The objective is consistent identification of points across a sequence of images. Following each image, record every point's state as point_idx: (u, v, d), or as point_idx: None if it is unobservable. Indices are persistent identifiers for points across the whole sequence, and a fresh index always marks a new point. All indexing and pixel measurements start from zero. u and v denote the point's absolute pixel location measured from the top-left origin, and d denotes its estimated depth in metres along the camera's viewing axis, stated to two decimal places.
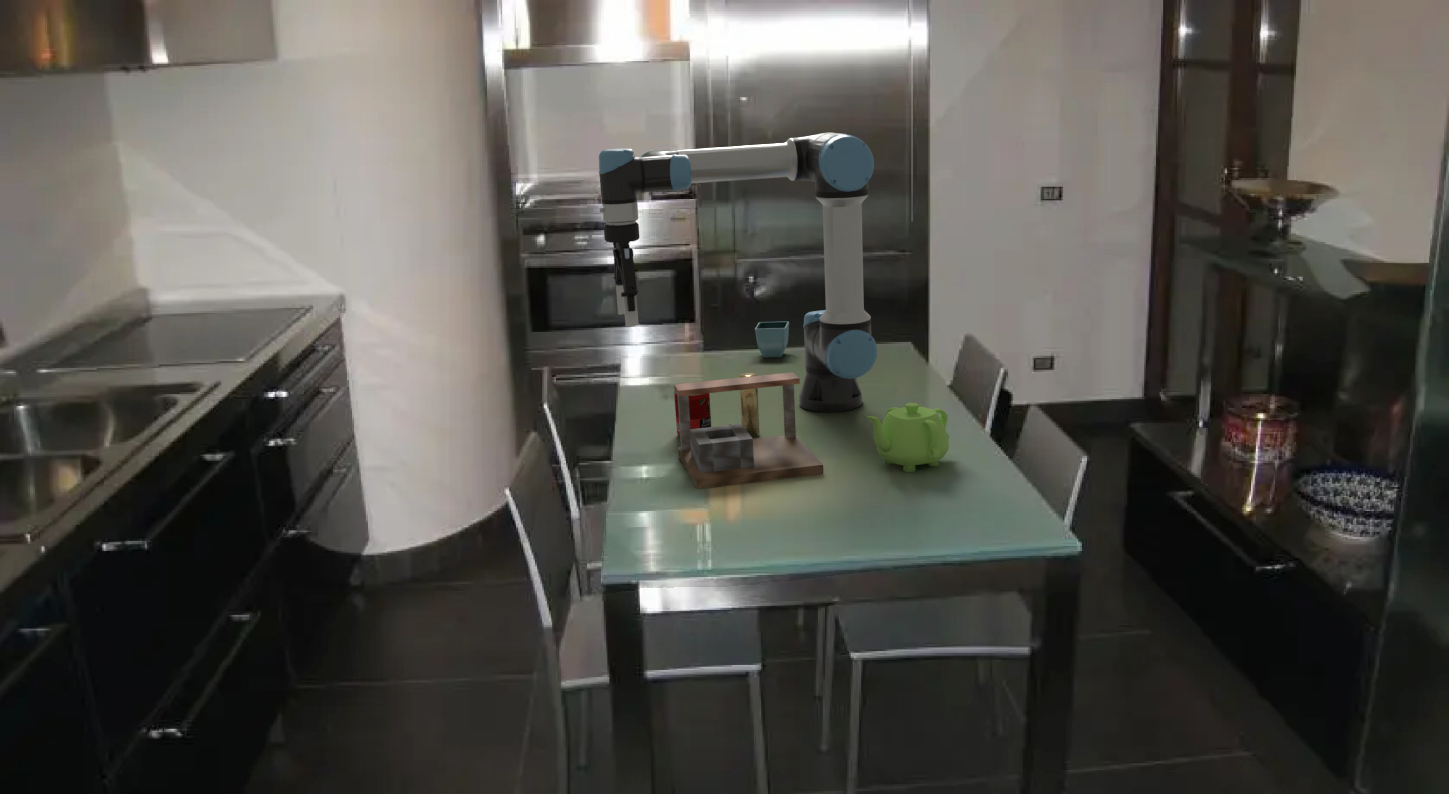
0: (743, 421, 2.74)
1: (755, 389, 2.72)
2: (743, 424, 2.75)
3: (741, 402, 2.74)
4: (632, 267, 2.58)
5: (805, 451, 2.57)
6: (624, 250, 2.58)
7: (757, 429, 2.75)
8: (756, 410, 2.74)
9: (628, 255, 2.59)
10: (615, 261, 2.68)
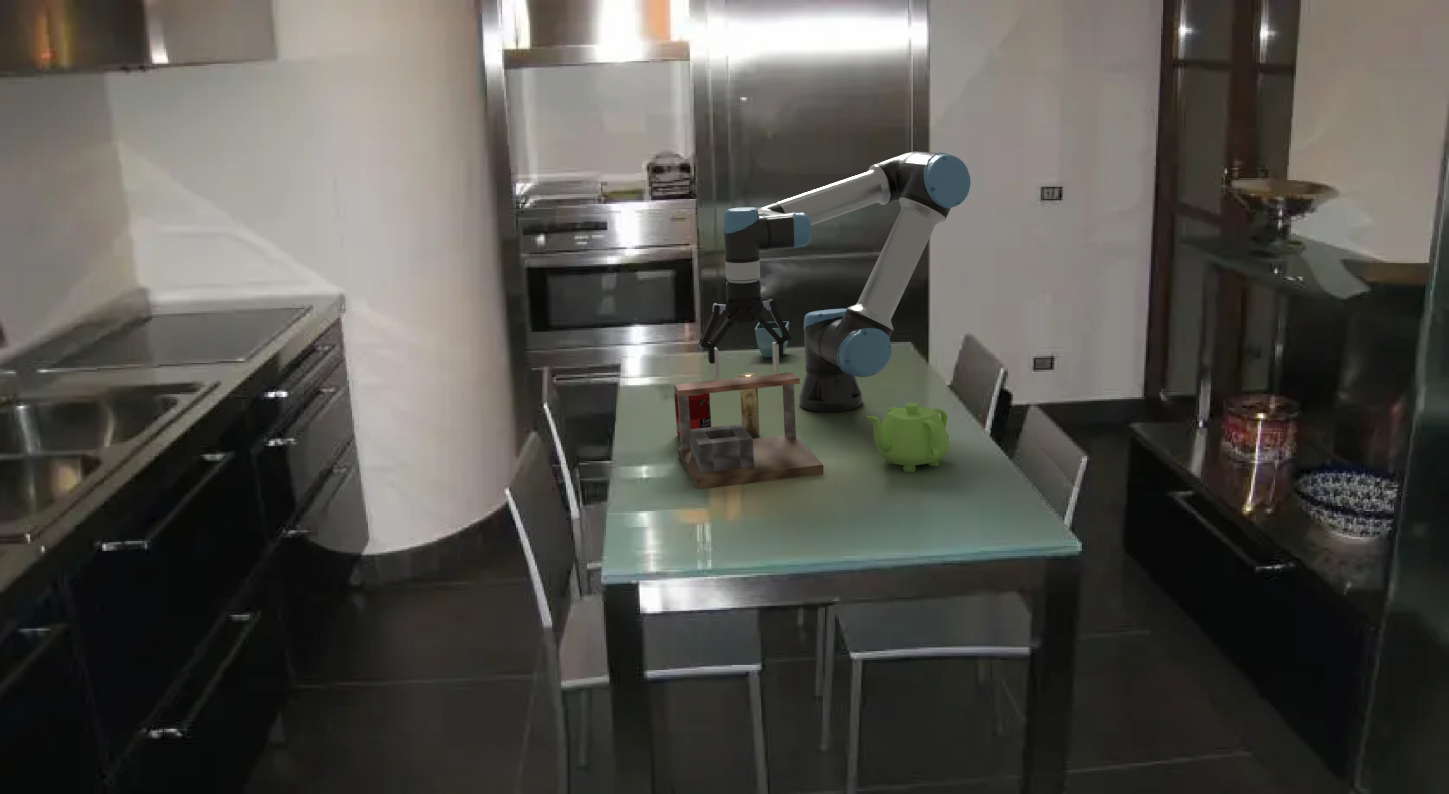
0: (743, 421, 2.74)
1: (755, 389, 2.72)
2: (743, 424, 2.75)
3: (741, 402, 2.74)
4: (710, 322, 2.67)
5: (805, 451, 2.57)
6: (713, 304, 2.68)
7: (757, 429, 2.75)
8: (756, 410, 2.74)
9: (713, 310, 2.67)
10: None
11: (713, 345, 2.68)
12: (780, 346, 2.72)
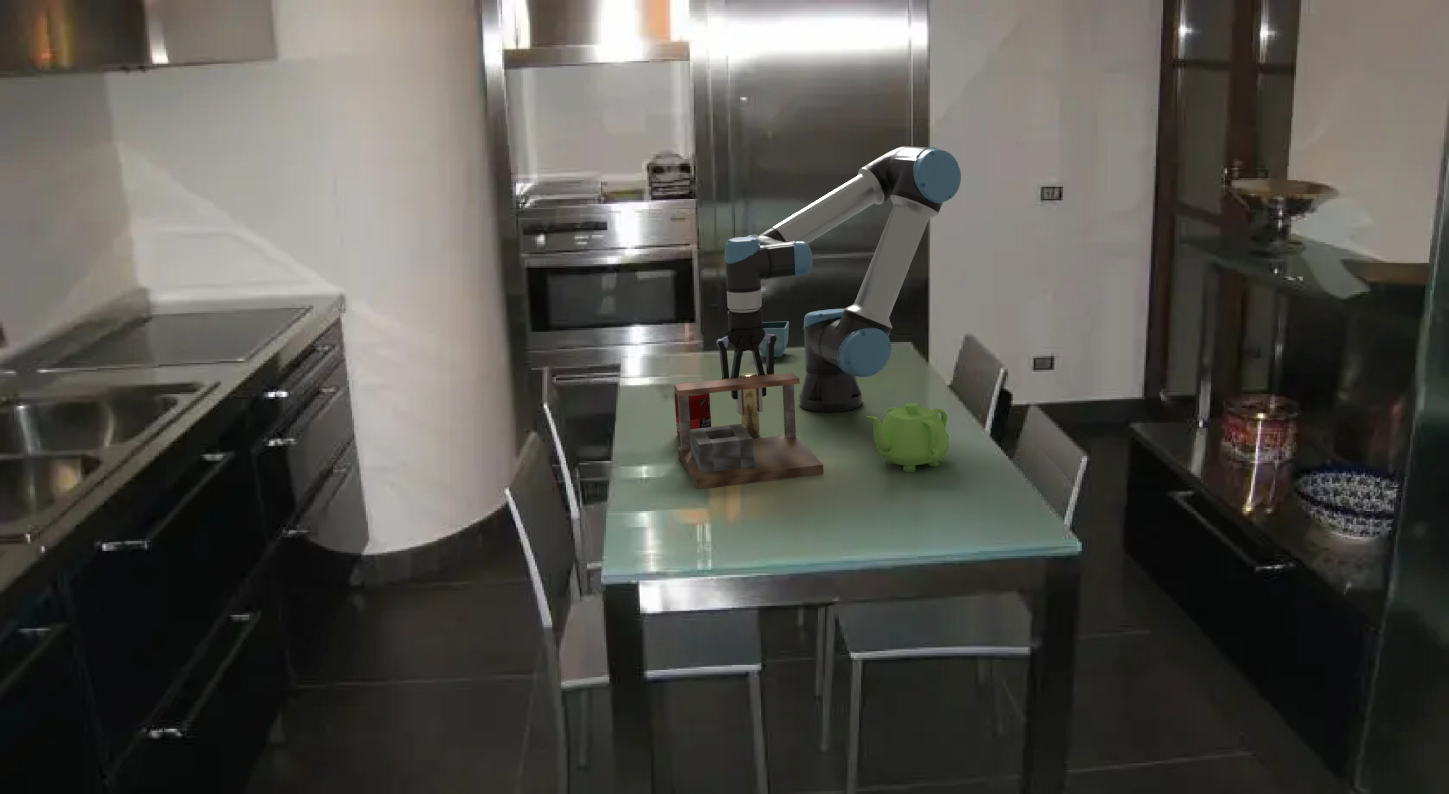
0: (743, 421, 2.74)
1: (755, 389, 2.72)
2: (743, 424, 2.75)
3: None
4: (721, 359, 2.70)
5: (805, 451, 2.57)
6: (716, 342, 2.70)
7: (757, 429, 2.75)
8: (756, 410, 2.74)
9: (719, 347, 2.70)
10: None
11: None
12: None
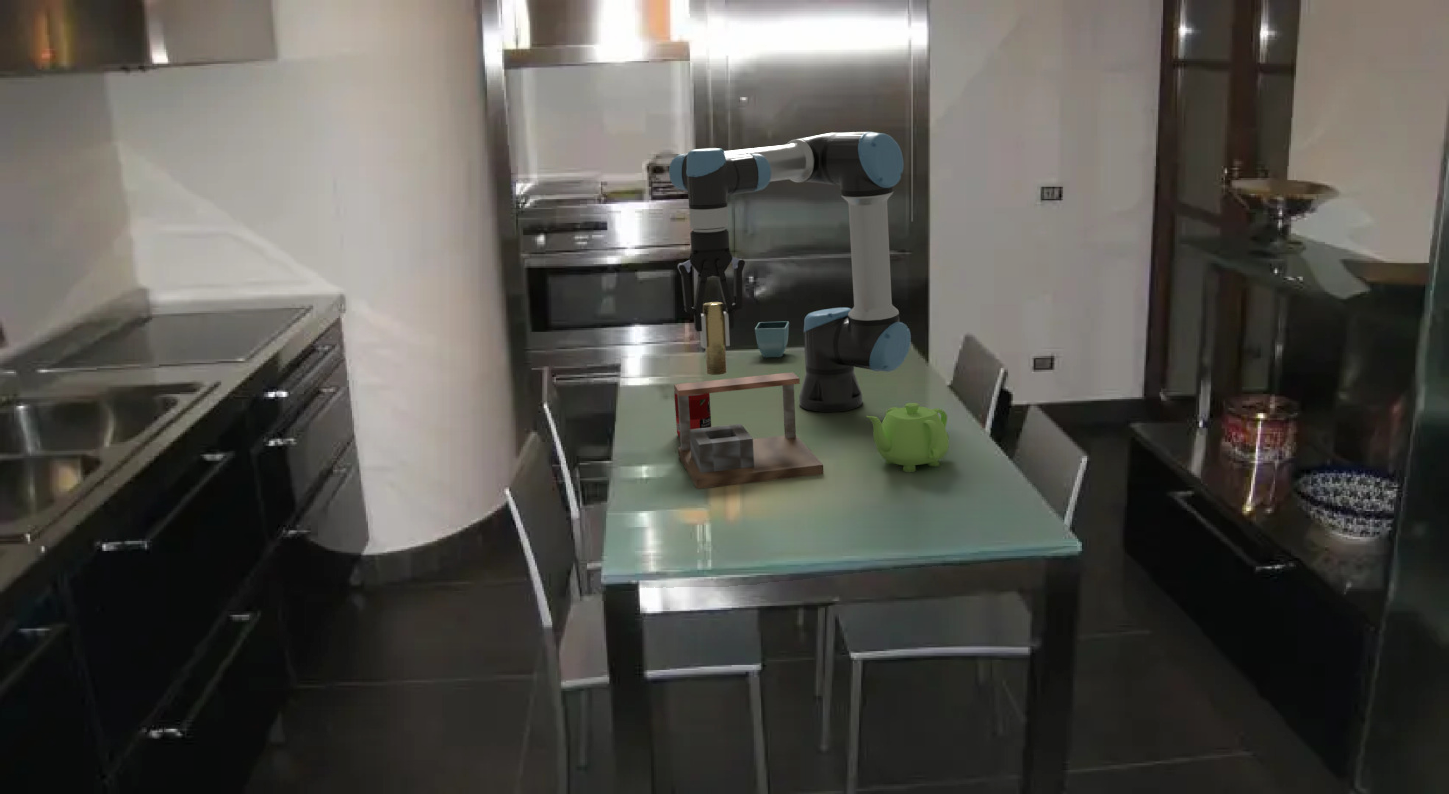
0: (708, 356, 2.46)
1: (721, 319, 2.44)
2: (708, 359, 2.46)
3: None
4: (683, 285, 2.42)
5: (805, 451, 2.57)
6: (678, 266, 2.42)
7: (723, 365, 2.47)
8: (722, 343, 2.45)
9: (680, 272, 2.41)
10: None
11: (699, 310, 2.43)
12: (730, 316, 2.45)
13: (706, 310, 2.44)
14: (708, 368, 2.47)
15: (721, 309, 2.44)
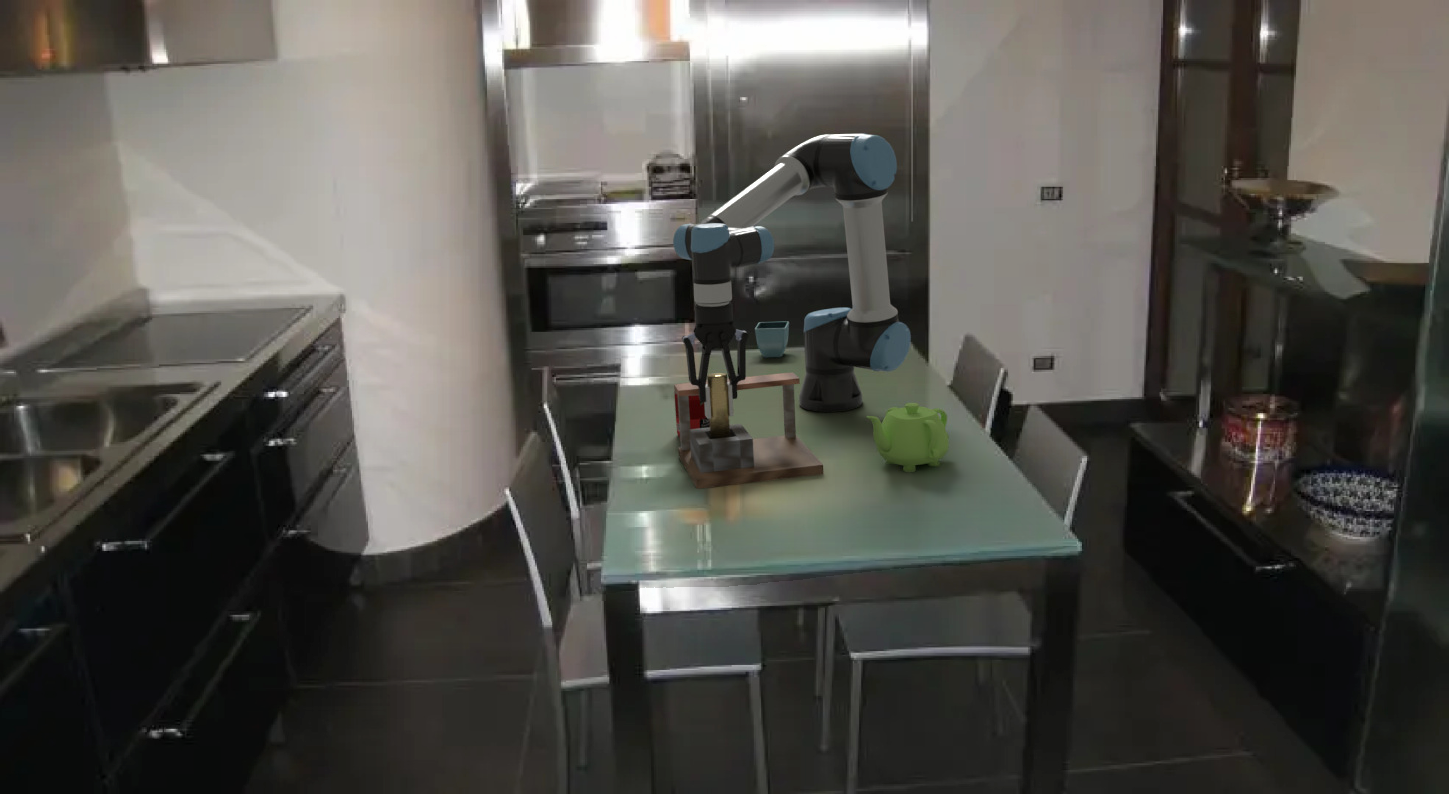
0: (712, 426, 2.50)
1: (725, 391, 2.48)
2: (712, 429, 2.50)
3: None
4: (688, 358, 2.45)
5: (805, 451, 2.57)
6: (682, 339, 2.45)
7: (727, 435, 2.50)
8: (725, 413, 2.49)
9: (685, 344, 2.45)
10: None
11: (703, 382, 2.47)
12: (733, 387, 2.49)
13: (710, 382, 2.47)
14: (712, 438, 2.51)
15: (725, 381, 2.47)
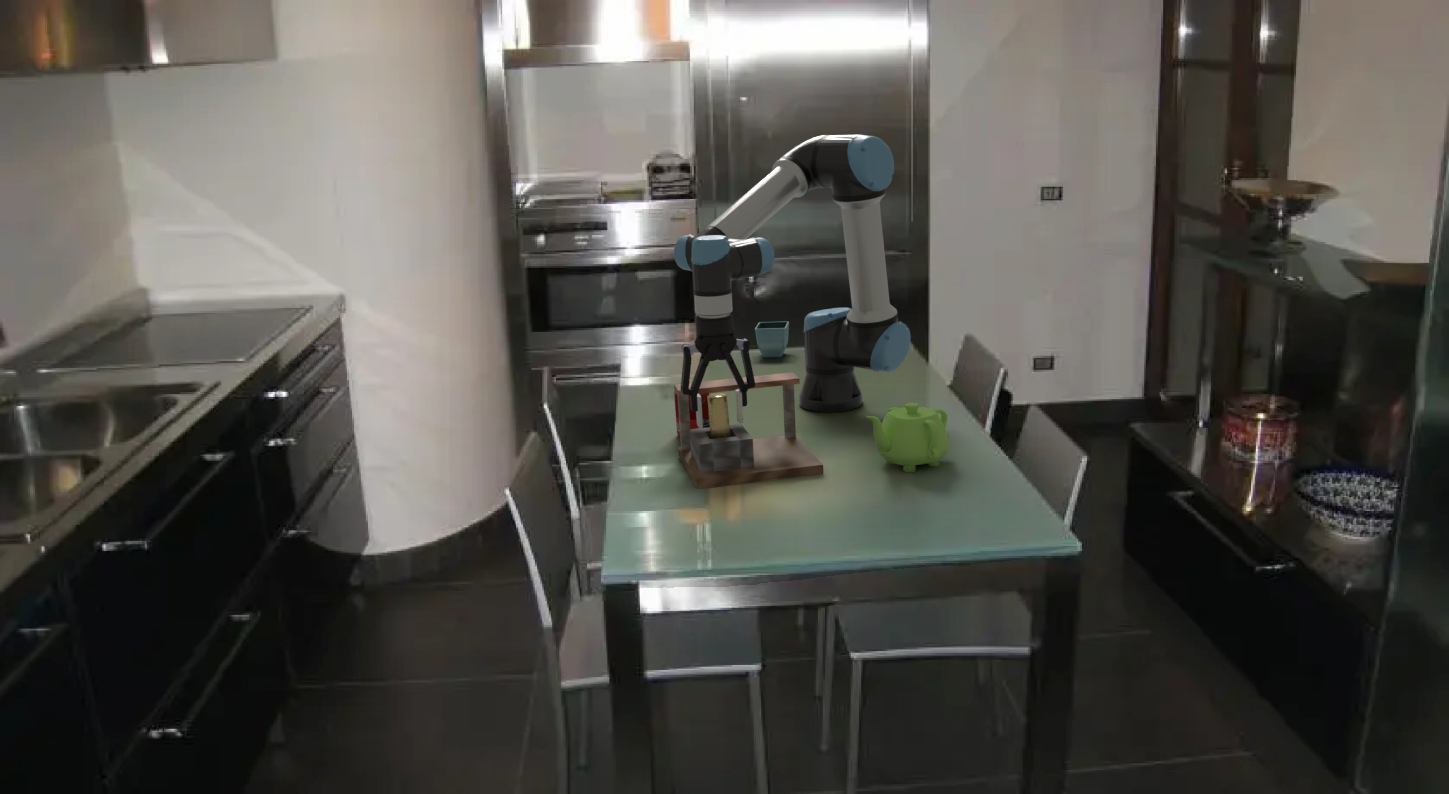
0: None
1: (725, 411, 2.49)
2: None
3: (711, 426, 2.50)
4: (684, 366, 2.46)
5: (805, 451, 2.57)
6: (682, 347, 2.46)
7: None
8: (727, 434, 2.50)
9: (684, 353, 2.46)
10: None
11: (695, 391, 2.47)
12: (743, 394, 2.50)
13: (710, 403, 2.48)
14: None
15: (725, 402, 2.49)
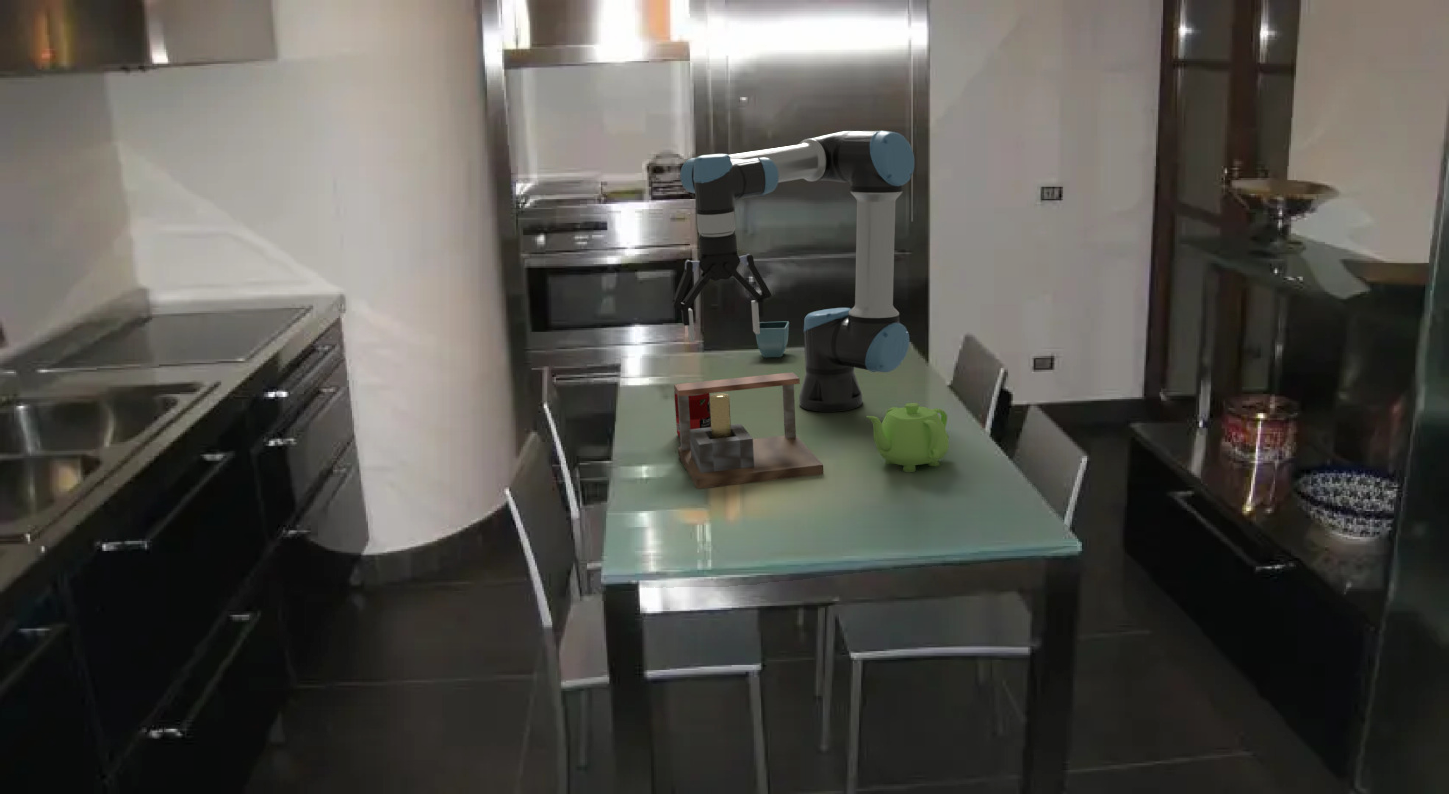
0: None
1: (727, 411, 2.49)
2: None
3: (712, 425, 2.50)
4: (682, 280, 2.46)
5: (805, 451, 2.57)
6: (686, 261, 2.46)
7: None
8: (728, 434, 2.50)
9: (686, 267, 2.46)
10: None
11: (687, 305, 2.47)
12: (759, 305, 2.51)
13: (712, 402, 2.49)
14: None
15: (727, 402, 2.49)
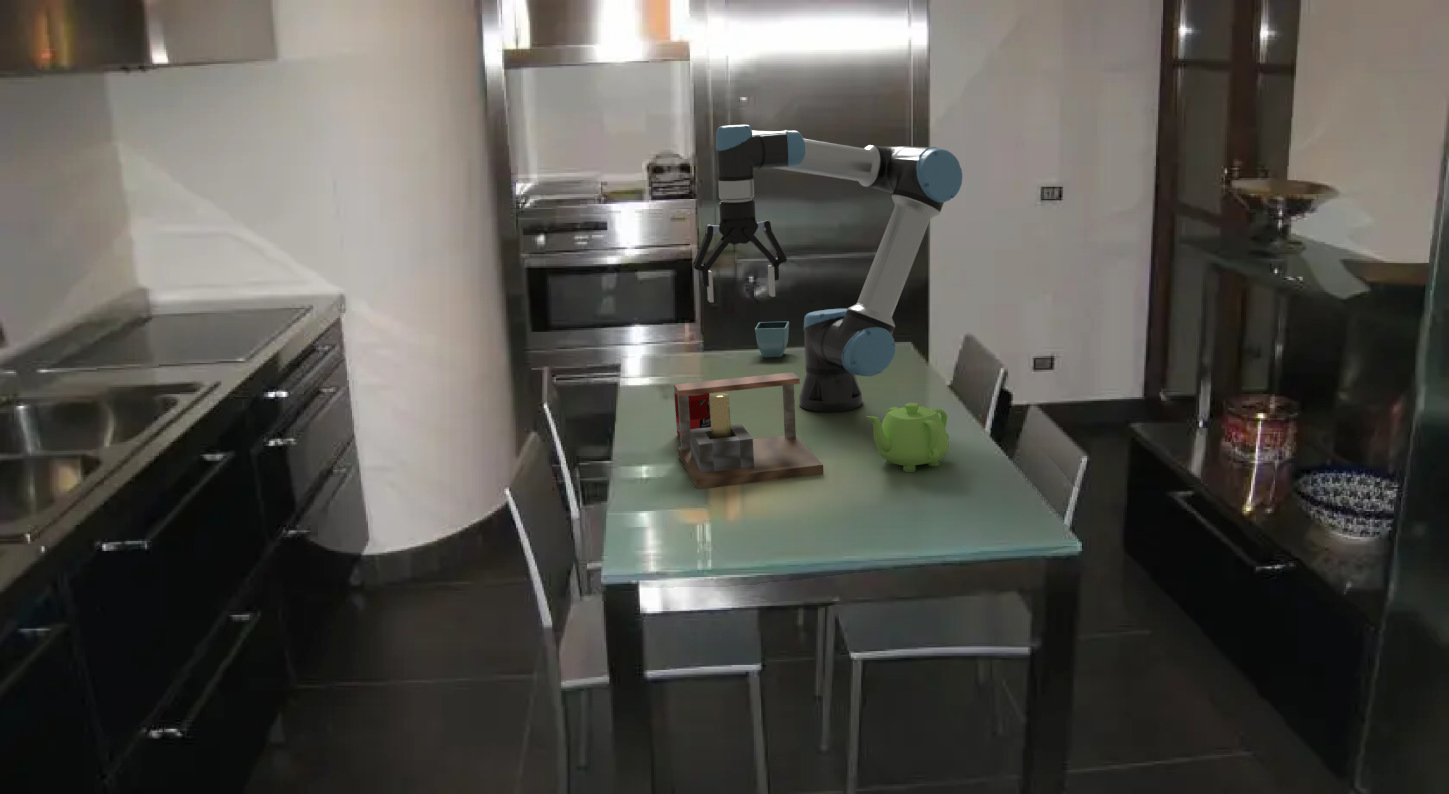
0: None
1: (727, 411, 2.49)
2: None
3: (712, 425, 2.50)
4: (703, 243, 2.61)
5: (805, 451, 2.57)
6: (707, 225, 2.61)
7: None
8: (727, 434, 2.50)
9: (706, 231, 2.61)
10: None
11: (707, 267, 2.62)
12: (775, 269, 2.65)
13: (712, 402, 2.49)
14: None
15: (727, 401, 2.49)
